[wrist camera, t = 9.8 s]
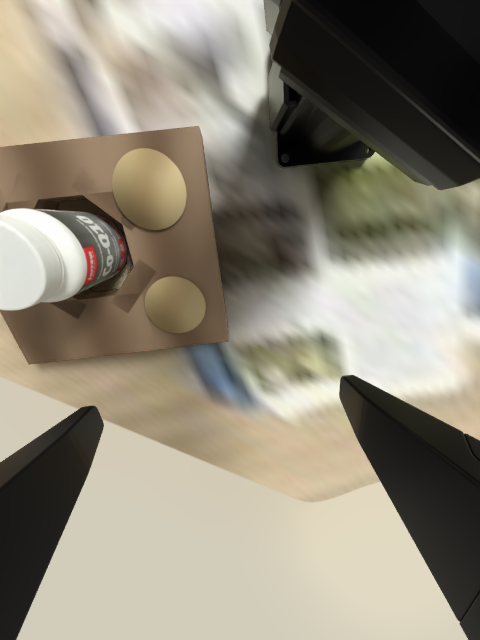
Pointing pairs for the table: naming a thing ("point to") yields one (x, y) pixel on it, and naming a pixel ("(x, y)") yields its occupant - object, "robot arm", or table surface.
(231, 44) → the table surface
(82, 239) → the pill bottle
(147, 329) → the pin board
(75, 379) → the table surface
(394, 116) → the robot arm
